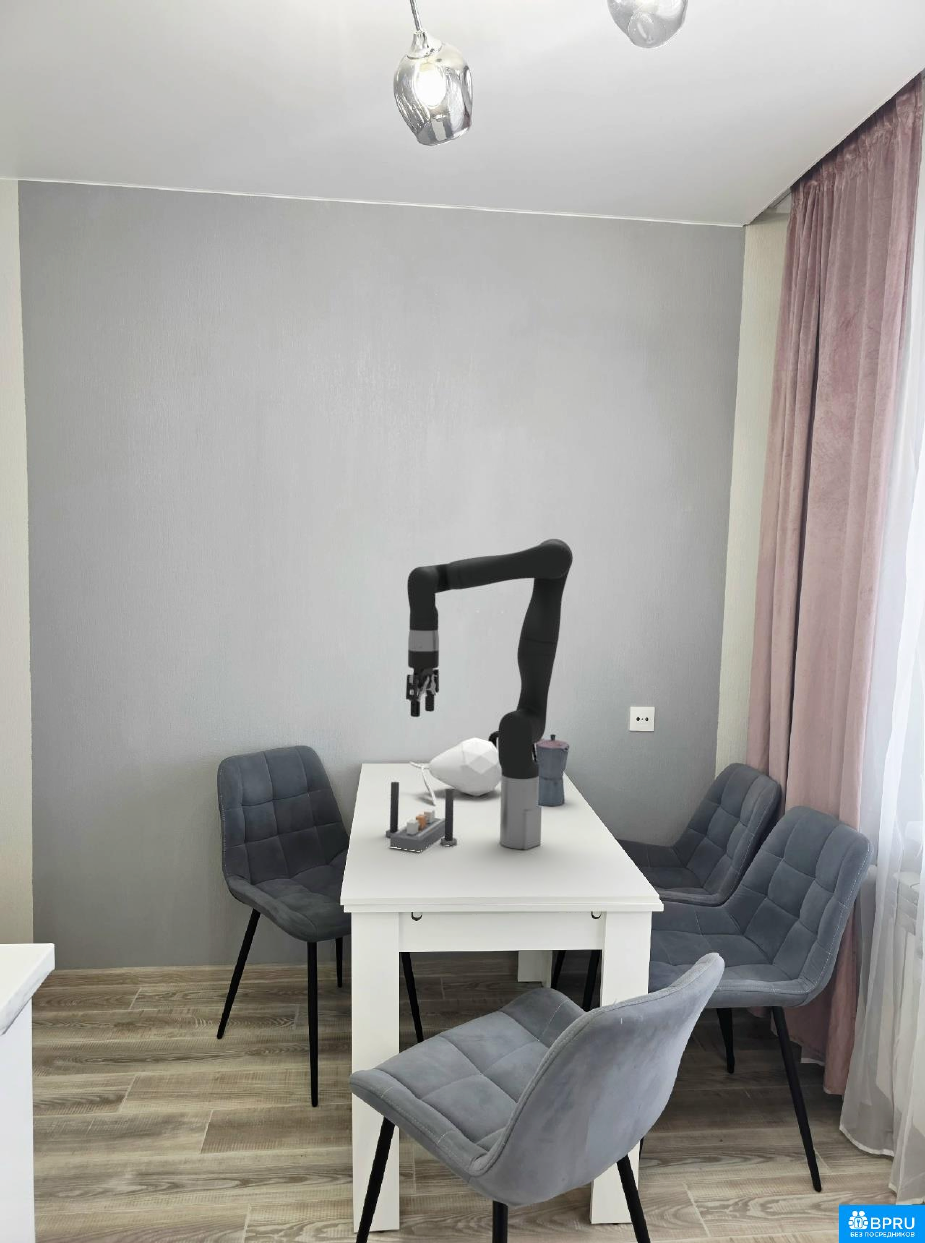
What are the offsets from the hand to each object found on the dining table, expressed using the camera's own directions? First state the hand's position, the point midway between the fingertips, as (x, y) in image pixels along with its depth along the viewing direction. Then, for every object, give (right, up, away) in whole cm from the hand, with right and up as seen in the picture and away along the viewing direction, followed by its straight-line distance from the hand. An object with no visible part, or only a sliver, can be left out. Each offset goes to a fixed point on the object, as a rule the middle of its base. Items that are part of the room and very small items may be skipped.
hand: (422, 713), depth 222 cm
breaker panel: (-1, -32, +2) cm, 32 cm away
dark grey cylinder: (+6, -32, 0) cm, 32 cm away
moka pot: (+34, -30, +38) cm, 59 cm away
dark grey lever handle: (-7, -31, +5) cm, 32 cm away
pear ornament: (+9, -29, +43) cm, 53 cm away
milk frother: (+23, -27, +68) cm, 76 cm away
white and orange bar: (0, -28, +2) cm, 28 cm away
